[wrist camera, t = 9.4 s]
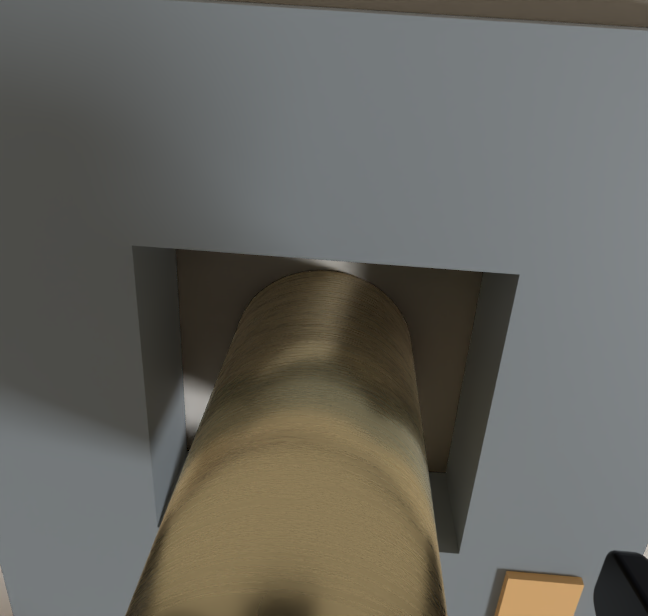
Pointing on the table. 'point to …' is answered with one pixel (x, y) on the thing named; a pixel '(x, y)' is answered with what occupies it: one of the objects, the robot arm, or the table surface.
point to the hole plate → (324, 244)
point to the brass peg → (304, 469)
